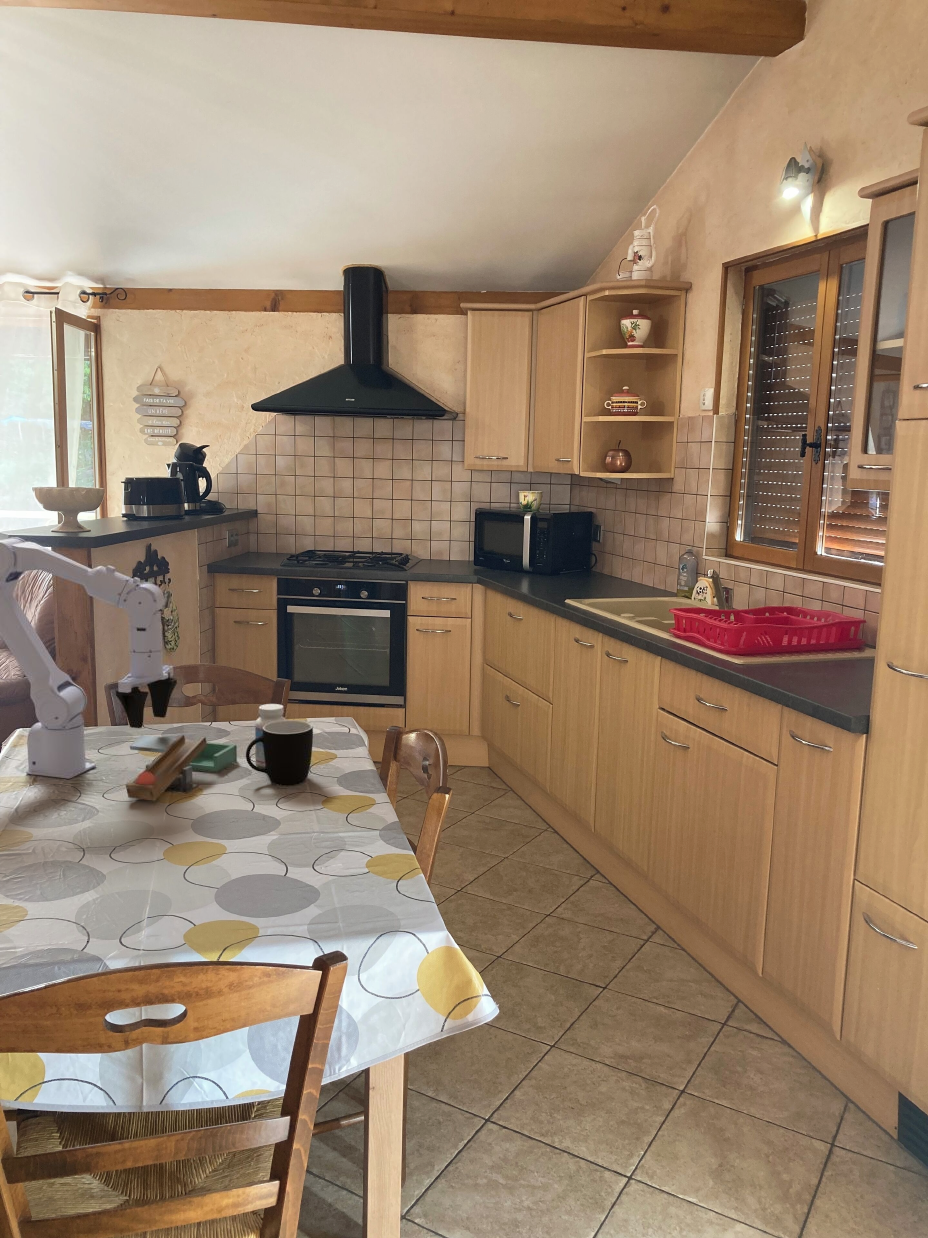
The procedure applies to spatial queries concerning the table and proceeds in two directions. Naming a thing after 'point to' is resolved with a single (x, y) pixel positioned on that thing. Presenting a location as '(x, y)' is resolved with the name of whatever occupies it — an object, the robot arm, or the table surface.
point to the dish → (215, 757)
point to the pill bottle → (267, 715)
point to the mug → (285, 751)
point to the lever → (164, 762)
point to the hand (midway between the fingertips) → (148, 722)
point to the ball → (145, 778)
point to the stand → (181, 781)
